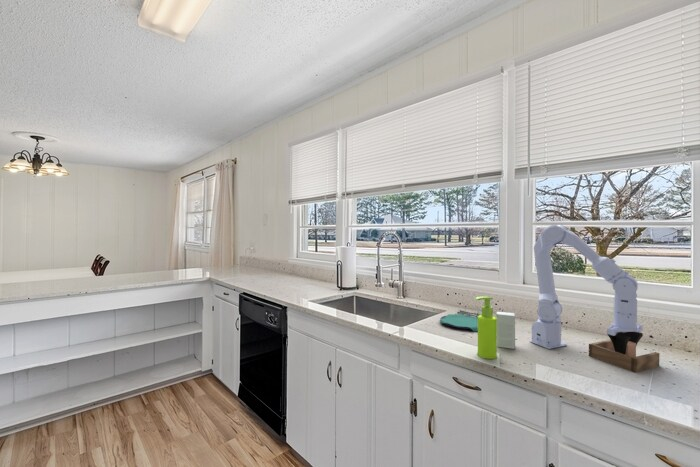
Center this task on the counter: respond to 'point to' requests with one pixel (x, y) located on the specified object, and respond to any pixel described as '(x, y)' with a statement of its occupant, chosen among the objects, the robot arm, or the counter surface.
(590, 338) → the counter surface
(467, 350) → the counter surface
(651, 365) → the open-sided box
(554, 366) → the counter surface
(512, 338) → the skincare box
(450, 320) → the teal flat rounded piece
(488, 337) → the soap dispenser
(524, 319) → the counter surface
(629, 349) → the terracotta block
